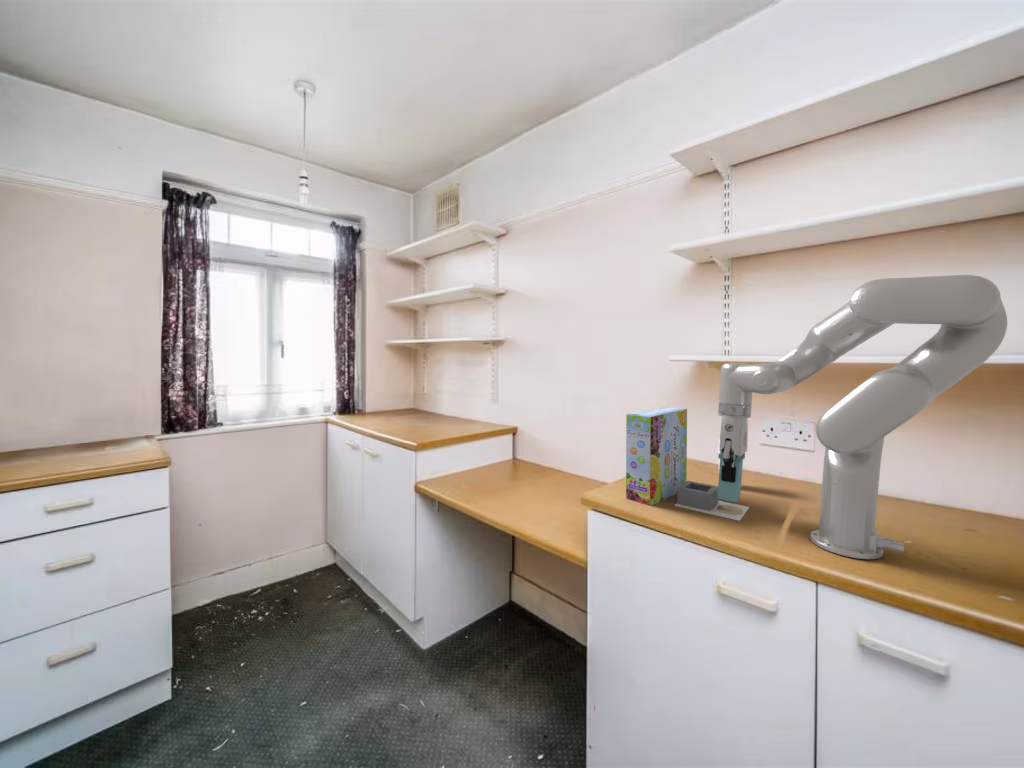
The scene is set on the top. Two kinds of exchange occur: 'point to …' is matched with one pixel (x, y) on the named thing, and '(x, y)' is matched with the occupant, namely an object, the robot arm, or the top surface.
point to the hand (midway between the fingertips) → (730, 478)
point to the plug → (727, 488)
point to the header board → (707, 501)
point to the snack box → (655, 454)
